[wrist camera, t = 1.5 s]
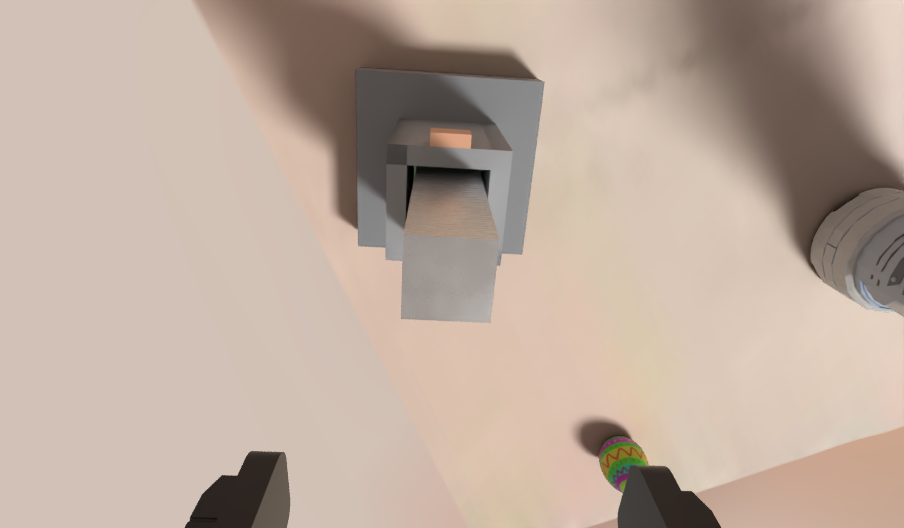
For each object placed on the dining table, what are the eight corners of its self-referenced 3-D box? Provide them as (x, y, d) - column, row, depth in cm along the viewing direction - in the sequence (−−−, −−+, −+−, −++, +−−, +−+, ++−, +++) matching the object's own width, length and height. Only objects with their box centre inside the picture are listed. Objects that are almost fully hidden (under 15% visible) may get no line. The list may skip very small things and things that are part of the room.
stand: (361, 67, 40) (327, 79, 28) (537, 78, 40) (577, 96, 28) (363, 233, 45) (335, 302, 34) (517, 241, 46) (543, 312, 34)
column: (418, 140, 39) (398, 230, 21) (475, 143, 39) (504, 235, 21) (416, 195, 41) (396, 322, 23) (470, 198, 41) (494, 326, 23)
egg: (606, 469, 58) (624, 514, 52) (587, 442, 56) (602, 486, 51) (645, 451, 57) (667, 495, 51) (626, 423, 55) (647, 465, 50)
